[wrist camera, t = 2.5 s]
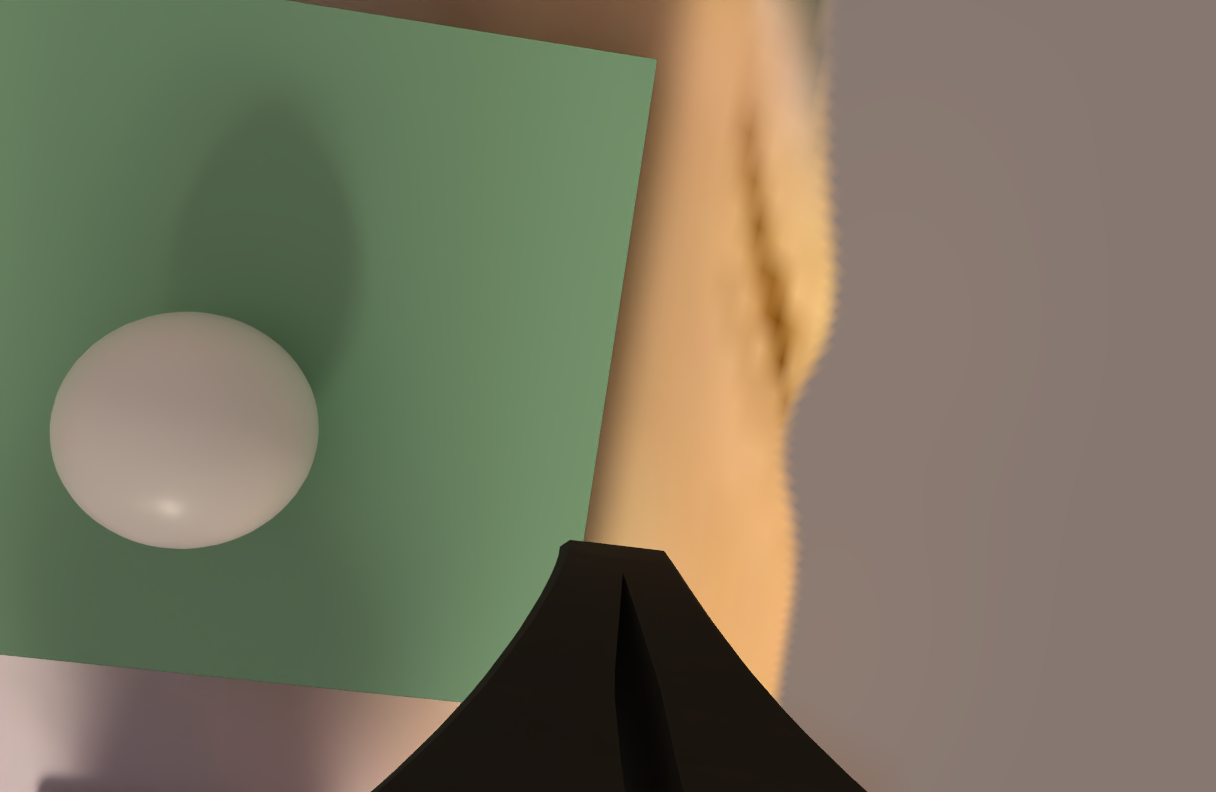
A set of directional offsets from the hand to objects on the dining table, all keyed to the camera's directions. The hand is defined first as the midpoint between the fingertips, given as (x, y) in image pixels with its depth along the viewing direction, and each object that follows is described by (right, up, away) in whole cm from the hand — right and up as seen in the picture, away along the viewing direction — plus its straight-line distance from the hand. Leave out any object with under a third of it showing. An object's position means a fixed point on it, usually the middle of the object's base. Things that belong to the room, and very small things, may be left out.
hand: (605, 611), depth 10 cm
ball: (-7, +2, +3) cm, 8 cm away
